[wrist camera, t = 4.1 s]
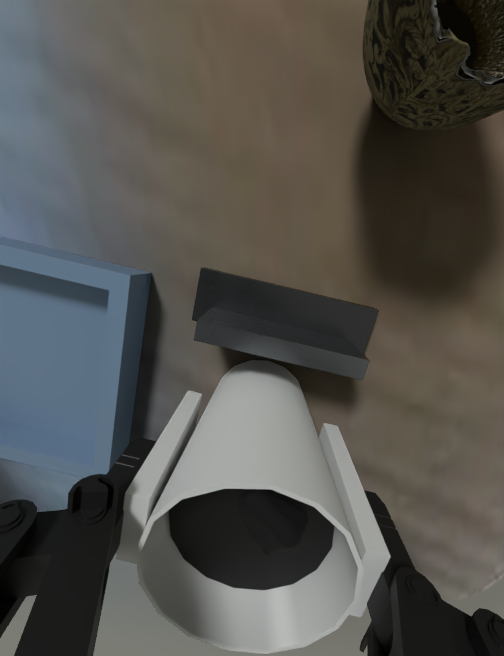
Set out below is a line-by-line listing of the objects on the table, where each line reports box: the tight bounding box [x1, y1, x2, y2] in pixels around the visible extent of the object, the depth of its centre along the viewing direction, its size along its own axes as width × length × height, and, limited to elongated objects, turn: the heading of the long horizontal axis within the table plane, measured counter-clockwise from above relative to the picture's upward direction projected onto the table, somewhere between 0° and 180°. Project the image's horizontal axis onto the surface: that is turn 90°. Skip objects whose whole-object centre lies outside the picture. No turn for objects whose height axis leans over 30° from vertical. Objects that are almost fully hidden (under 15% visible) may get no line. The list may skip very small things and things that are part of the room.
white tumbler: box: [135, 360, 364, 654], centre depth 13 cm, size 7×7×10 cm
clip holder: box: [192, 268, 379, 380], centre depth 16 cm, size 15×10×4 cm, turn 167°
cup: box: [363, 0, 504, 131], centre depth 9 cm, size 8×7×8 cm
